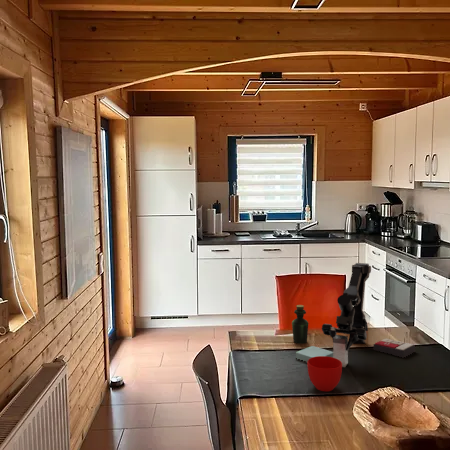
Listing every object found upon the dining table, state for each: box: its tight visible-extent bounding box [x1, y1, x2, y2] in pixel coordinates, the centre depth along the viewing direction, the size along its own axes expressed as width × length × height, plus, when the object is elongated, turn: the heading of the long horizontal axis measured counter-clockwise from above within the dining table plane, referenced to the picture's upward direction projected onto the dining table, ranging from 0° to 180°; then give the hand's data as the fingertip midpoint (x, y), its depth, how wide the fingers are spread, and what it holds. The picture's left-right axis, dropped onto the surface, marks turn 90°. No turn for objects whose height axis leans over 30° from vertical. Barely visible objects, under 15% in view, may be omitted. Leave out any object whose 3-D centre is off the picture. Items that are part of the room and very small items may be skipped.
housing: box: [332, 334, 349, 368], centre depth 202 cm, size 5×5×12 cm
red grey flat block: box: [373, 338, 416, 359], centre depth 218 cm, size 11×4×15 cm
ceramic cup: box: [306, 356, 343, 392], centre depth 181 cm, size 13×17×10 cm
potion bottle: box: [291, 304, 310, 345], centre depth 232 cm, size 8×8×18 cm
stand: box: [295, 345, 333, 363], centre depth 209 cm, size 12×12×3 cm
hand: (340, 349), depth 202 cm, fingers closed on housing, 5 cm apart
